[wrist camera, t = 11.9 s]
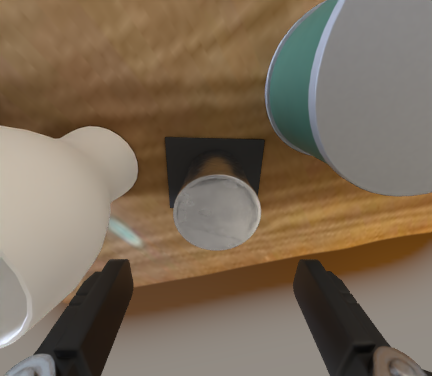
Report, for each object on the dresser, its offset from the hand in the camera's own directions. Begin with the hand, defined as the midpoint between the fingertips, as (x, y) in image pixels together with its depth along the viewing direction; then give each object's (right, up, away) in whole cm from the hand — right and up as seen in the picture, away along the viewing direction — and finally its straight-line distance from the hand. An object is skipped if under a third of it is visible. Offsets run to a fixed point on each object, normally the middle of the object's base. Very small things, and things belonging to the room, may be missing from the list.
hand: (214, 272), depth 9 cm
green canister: (+11, +13, +9) cm, 20 cm away
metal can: (0, +5, +12) cm, 13 cm away
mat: (0, +5, +12) cm, 14 cm away
